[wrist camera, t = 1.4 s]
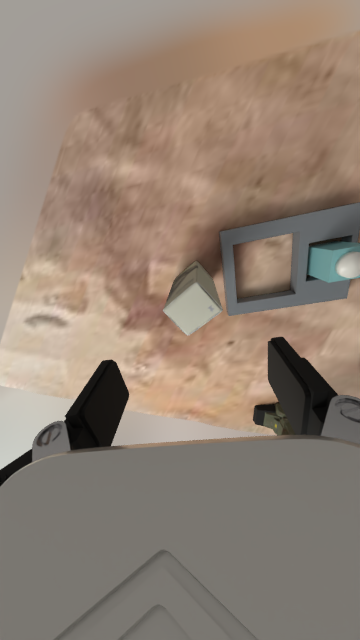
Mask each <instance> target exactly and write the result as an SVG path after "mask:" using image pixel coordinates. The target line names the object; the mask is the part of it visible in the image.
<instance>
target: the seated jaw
mask: <svg viewBox="0 0 360 640" xmlns="http://www.w3.org/2000/svg"><path fill="white" fill-rule="evenodd" d="M306 274H308V275H310V276H313V277H315V278H318V279H320V280H323V281H326V282H328V283H330V282H336V281H342V280H349V279H355V278H360V243H353V242H341V241H333V242H328V243H322V244H317V245H312V246H309V248H308V260H307V272H306Z"/></svg>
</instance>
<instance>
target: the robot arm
mask: <svg viewBox="0 0 360 640" xmlns="http://www.w3.org/2000/svg"><path fill="white" fill-rule="evenodd" d="M268 380H269V383H270V385H271V387H272V389H273V391H274V393H275V395H276V397H277V399H278V401H279V403H280V405H281V407H282V409H283V411H284V413H285V415H286V417H287V419H288V421H289V422H290V424H291V426H292V428H293V430H294V432H295V434H296V435H277V436H255V437H240V438H223V439H209V440H193V441H178V442H166V443H165V442H164V443H149V444H136V445H123V446H111V444H112V441H113V438H114V436H115V433H116V430H117V428H118V425H119V422H120V420H121V417H122V414H123V412H124V409H125V406H126V403H127V401H128V398H129V392H128V389H127V387H126V385H125V382H124V380H123V378H122V375H121V373H120V370H119V368H118V366H117V363H116V362H115V361H113V360H105V361H102V362H101V364H100V365H99V366H98V368H97V369H96V371H95V372H94V374H93V375H92V377H91V378H90V380H89V381H88V383H87V384H86V386H85V387H84V389H83V390H82V392H81V393H80V395H79V396H78V398H77V399H76V401H75V402H74V404H73V405H72V406H71V408H70V409H69V411H68V412H67V414H66V415H65V417H66V420H65V421H64V422H63V421H57V422H53V423H51V424H49V425H48V426H46V427H45V428H44V429H43V430H41V431H40V432H39V434H38V435H37V436H36V437H35V439H34V441H33V447H32V449H31V450H29V451H28V452H26V453H25V454H23V455H22V456H21V457H19V458H18V459H16V460H14V461H13V462H11V463H10V464H8V465H7V466H6V467H4V468H3V469H1V470H0V640H360V399H359V398H356V397H353V396H348V395H339V396H338V394H337V393H336V392H335V391H334V390H333V389H332V388H331V386H330V385H329V384H328V383H327V382H326V381H325V380H324V379H323V377H322V376H321V375H320V374H319V373H318V372H317V371H316V370H315V368H314V367H313V366H312V365H311V364H310V363H309V362H308V360H306V359H305V358H301V357H300V356H299V355H298V354H297V353H296V352H295V350H294V349H293V348H292V347H291V346H290V345H289V343H288V342H287V341H286V340H285V339H284V338H283V337H276V338H272V339H271V341H268Z"/></svg>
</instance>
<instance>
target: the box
mask: <svg viewBox="0 0 360 640" xmlns="http://www.w3.org/2000/svg"><path fill="white" fill-rule="evenodd" d="M222 310H223V309H222V306H221V303H220V300H219V297H218V294H217V291H216V287H215V284H214V281H213V279H212V278H211V276H210V275H209V274H208V273H207V271H206V270H205V269H204V268H203V267H202V266H201V265H200V264H199V262H198V261H195V262H193V263H192V264H191V265H190V266H189V267H188V268H186V269H185V270H184V271H183V272H182V273H181V274H180V275H179V276H178V277H177V278H176V279H175V280H174V282H173V285H172V287H171V290H170V293H169V296H168V299H167V302H166V304H165V307H164V309H163V311H164V313H165V314H166V315H167V316H168V317H169V318H170V319H171V320H172V321H173V322H174V323H175V324H176V325H177V326H178V327H179V328H180V329H181V330H182V331H183V332H184V333H185V334H186V335H190V334H192V333H193V332H195V331H196V330H197V329H199V328H200V327H202V326H203V325H204V324H206V323H207V322H208V321H210V320H211V319H212V318H214V317H215V316H216V315H218V314H219V313H220V312H222Z"/></svg>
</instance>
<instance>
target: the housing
mask: <svg viewBox="0 0 360 640" xmlns="http://www.w3.org/2000/svg"><path fill="white" fill-rule="evenodd" d="M359 230H360V202H359V203H353V204H348V205H343V206H338V207H334V208H329V209H324V210H319V211H315V212H310V213H305V214H300V215H296V216H291V217H286V218H281V219H277V220H272V221H267V222H262V223H258V224H253V225H248V226H243V227H239V228H234V229H229V230H224V231H220V232H219V238H220V248H221V258H222V268H223V278H224V289H225V299H226V309H227V313H228V315H229V316H232V315H238V314H245V313H252V312H258V311H265V310H272V309H278V308H285V307H292V306H298V305H305V304H312V303H318V302H325V301H332V300H338V299H345V298H347V295H348V289H349V284H350V279H349V280H342V281H336V282H330V283H328V282H326V281H323V280H320V279H318V278H315V277H313V276H312V277H306V272H307V260H308V248H309V243H312V242H318V241H323V240H328V239H333V238H339V237H342V238H341V242H353V243H357V241H358V236H359ZM290 233H293V244H292V263H291V283H290V290H289V291H283V292H277V293H271V294H264V295H258V296H252V297H246V298H240V299H237V296H236V282H235V268H234V254H233V245H234V244H239V243H244V242H249V241H254V240H259V239H265V238H270V237H275V236H280V235H285V234H290Z"/></svg>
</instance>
